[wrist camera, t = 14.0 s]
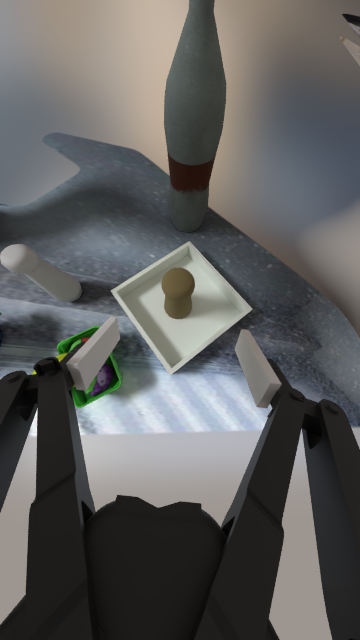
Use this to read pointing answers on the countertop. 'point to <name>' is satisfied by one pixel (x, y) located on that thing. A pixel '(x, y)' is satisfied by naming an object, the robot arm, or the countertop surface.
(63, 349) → the fruit basket
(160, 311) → the bin
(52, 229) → the countertop surface
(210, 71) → the bottle
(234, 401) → the countertop surface
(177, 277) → the cork
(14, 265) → the salt shaker
